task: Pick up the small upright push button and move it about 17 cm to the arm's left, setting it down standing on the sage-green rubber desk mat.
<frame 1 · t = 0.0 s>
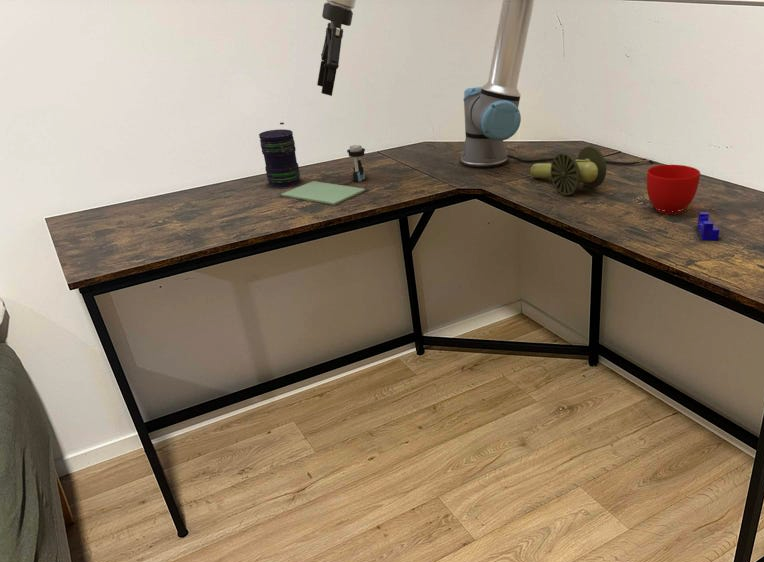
hand: (324, 90, 183), 28 cm above the table, tool tilted 20°, fingers open, 13 cm apart
cannon: (563, 186, 195), on the table
desk mat: (323, 193, 196), on the table
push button: (360, 179, 208), on the table
blue stepped block: (707, 234, 159), on the table
ceramic cup: (670, 208, 176), on the table
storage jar: (285, 183, 206), on the table
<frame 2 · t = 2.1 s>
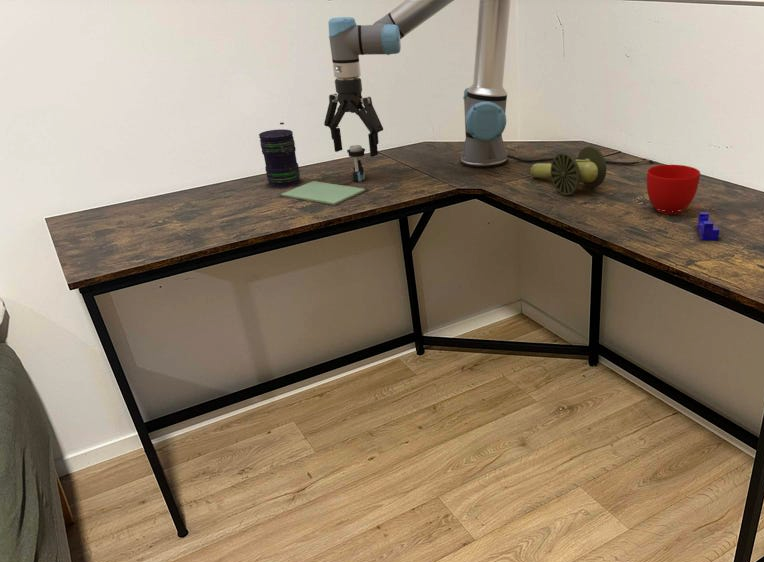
hand: (356, 153, 204), 8 cm above the table, tool pointing down, fingers open, 13 cm apart
nothing on the table moved.
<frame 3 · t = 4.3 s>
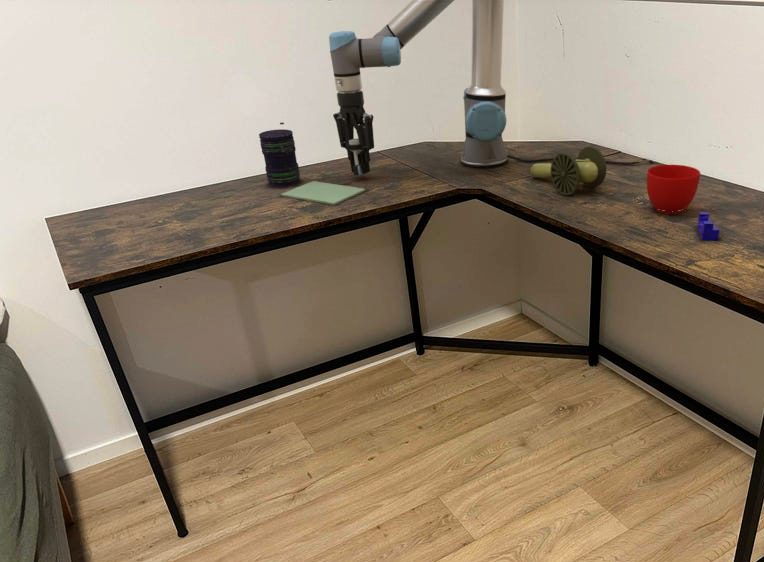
hand: (360, 171, 206), 2 cm above the table, tool pointing down, fingers closed on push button, 3 cm apart
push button: (361, 173, 207), point 2 cm above the table, touching gripper
everything else where it was.
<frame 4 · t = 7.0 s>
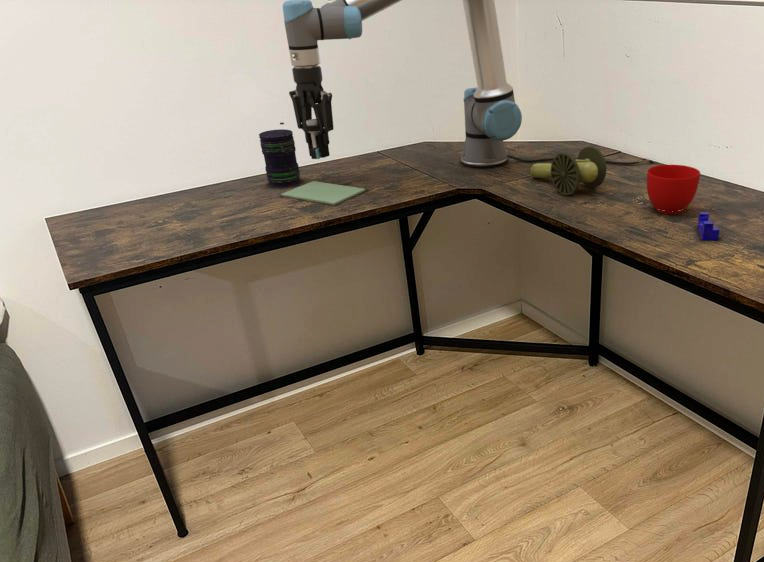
hand: (319, 155, 190), 11 cm above the table, tool pointing down, fingers closed on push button, 3 cm apart
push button: (320, 157, 190), point 11 cm above the table, touching gripper
everything else where it was.
when the fingers open (1 cm above the table, at t = 9.5 s): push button stays where it is, resting on desk mat.
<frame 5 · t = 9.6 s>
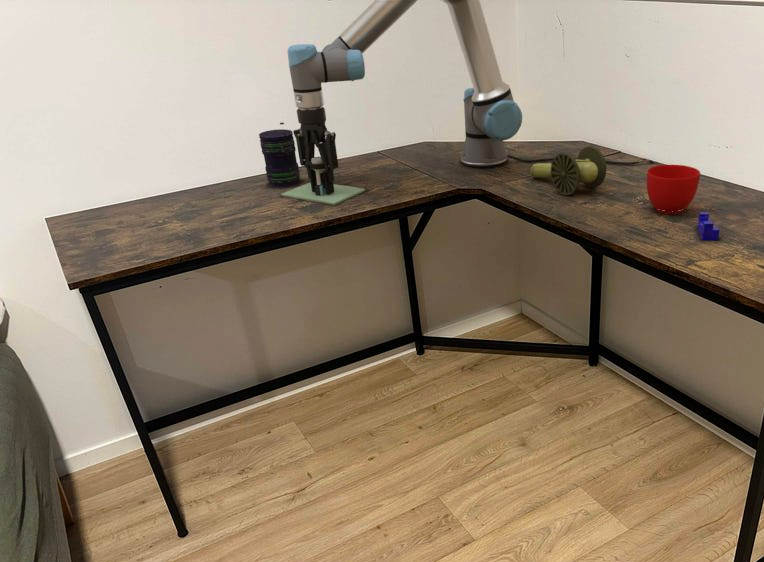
hand: (323, 191, 195), 1 cm above the table, tool pointing down, fingers open, 5 cm apart
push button: (323, 193, 195), resting on desk mat
everything else where it was.
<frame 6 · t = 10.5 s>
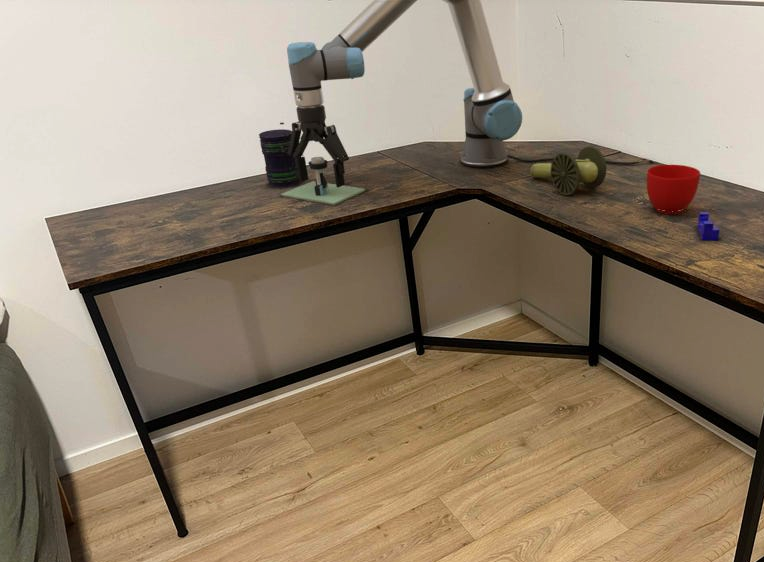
hand: (322, 183, 193), 3 cm above the table, tool pointing down, fingers open, 13 cm apart
nothing on the table moved.
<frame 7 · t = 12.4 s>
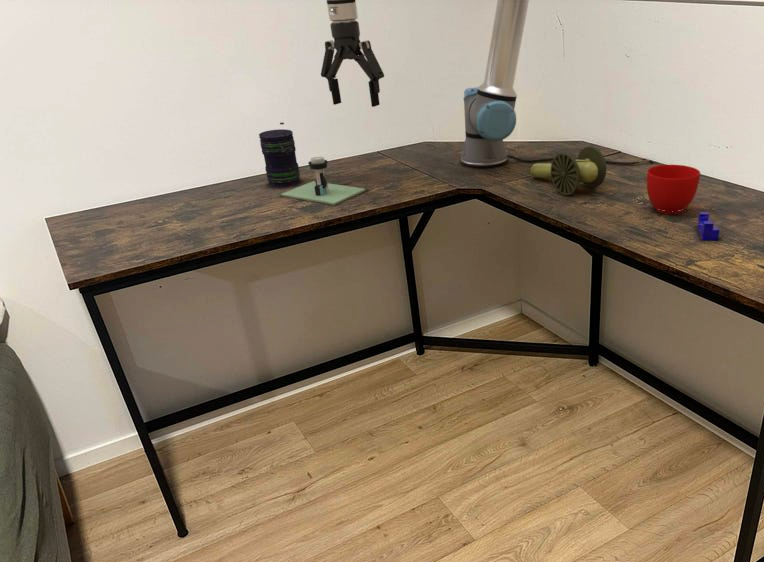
hand: (356, 104, 190), 23 cm above the table, tool pointing down, fingers open, 13 cm apart
nothing on the table moved.
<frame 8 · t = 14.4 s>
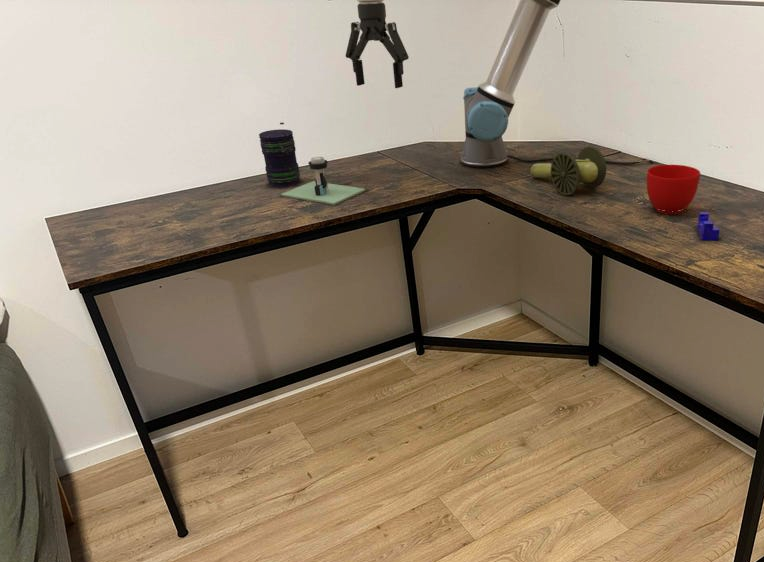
hand: (379, 86, 193), 27 cm above the table, tool pointing down, fingers open, 13 cm apart
nothing on the table moved.
at the end: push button inside the target area on the desk mat (1.3 cm from its centre), point 0.4 cm above the desk mat's base; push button tilted 0°; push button moved 17.0 cm from its start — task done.
